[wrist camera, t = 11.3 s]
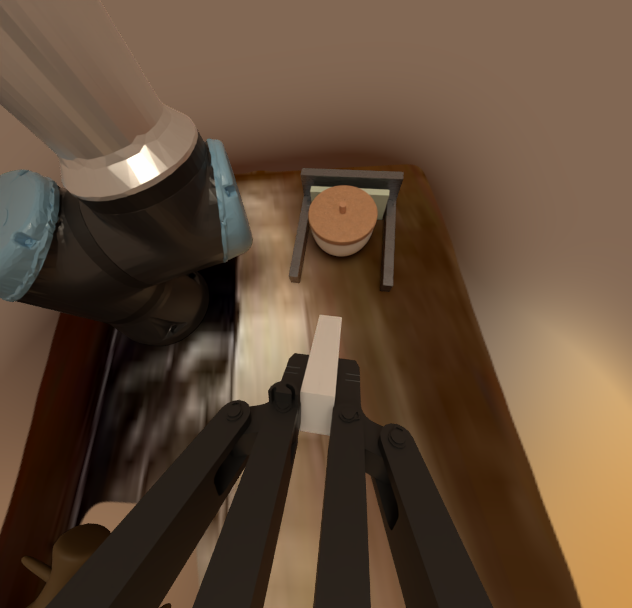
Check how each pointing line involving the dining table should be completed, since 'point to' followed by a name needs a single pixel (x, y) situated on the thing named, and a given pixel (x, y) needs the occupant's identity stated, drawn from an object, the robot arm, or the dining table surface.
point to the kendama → (67, 560)
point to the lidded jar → (342, 219)
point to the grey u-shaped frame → (358, 180)
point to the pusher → (377, 194)
